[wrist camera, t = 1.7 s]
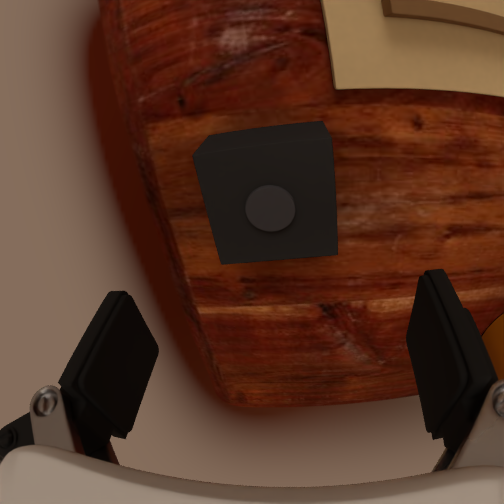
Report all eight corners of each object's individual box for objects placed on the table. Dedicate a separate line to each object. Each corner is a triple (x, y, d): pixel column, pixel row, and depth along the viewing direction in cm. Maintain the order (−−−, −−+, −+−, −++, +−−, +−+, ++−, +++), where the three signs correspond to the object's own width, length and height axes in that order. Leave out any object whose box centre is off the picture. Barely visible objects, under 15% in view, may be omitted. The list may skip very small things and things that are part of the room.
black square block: (230, 230, 21) (220, 268, 18) (208, 135, 17) (190, 157, 14) (330, 221, 20) (338, 258, 17) (322, 120, 16) (332, 139, 13)
